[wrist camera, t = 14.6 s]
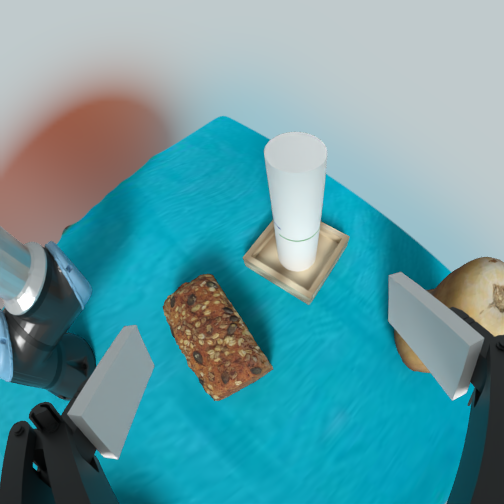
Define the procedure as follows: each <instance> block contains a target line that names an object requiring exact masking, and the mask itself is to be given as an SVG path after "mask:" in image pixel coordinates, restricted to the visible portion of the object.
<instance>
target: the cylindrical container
mask: <svg viewBox="0 0 504 504" xmlns="http://www.w3.org/2000/svg"><path fill="white" fill-rule="evenodd" d="M264 156H265V163H266V170H267V177H268V184H269V192H270V199H271V206H272V213H273V221H274V229H275V237H276V244H277V252H278V259H279V261H280V263H281V264H282V266H283V267H285V268H286V269H288V270H290V271H295V272H299V271H304V270H306V269H308V268H310V267H311V266H312V265H313V263H314V262H315V259H316V254H317V246H318V239H319V231H320V222H321V214H322V205H323V195H324V185H325V175H326V163H327V149H326V146H325V145H324V143H323V142H322V141H321V140H320V139H318V138H317V137H315V136H313V135H310V134H307V133H301V132H289V133H284V134H281V135H278V136H276V137H274V138H273V139H271V140H270V141H269V142H268V143H267V145H266V147H265V150H264Z"/></svg>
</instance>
